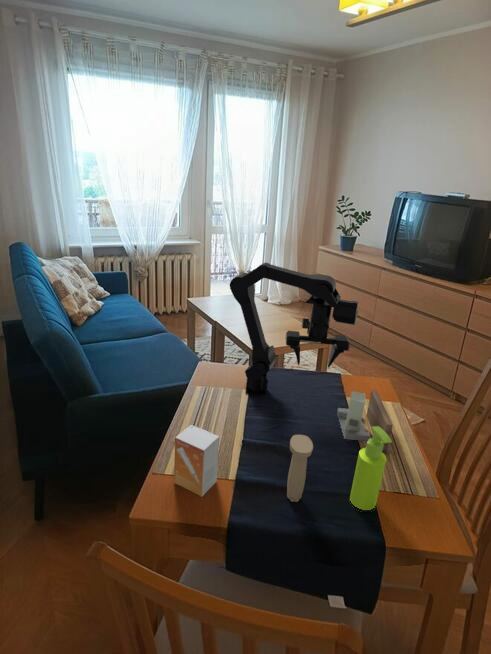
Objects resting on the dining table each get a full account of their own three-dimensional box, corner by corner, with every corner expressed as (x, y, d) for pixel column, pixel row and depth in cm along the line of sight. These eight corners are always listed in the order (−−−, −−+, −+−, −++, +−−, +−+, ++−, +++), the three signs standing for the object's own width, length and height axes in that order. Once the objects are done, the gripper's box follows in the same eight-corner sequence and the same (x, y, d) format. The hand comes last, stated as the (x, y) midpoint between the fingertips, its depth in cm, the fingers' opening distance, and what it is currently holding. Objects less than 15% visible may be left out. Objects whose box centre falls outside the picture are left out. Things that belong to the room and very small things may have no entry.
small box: (173, 483, 102) (174, 437, 98) (189, 468, 108) (191, 423, 103) (201, 498, 99) (204, 450, 94) (217, 481, 104) (220, 435, 99)
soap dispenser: (359, 517, 97) (376, 442, 90) (344, 495, 103) (359, 422, 96) (383, 513, 99) (401, 438, 91) (367, 491, 105) (382, 420, 97)
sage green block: (344, 430, 127) (350, 400, 123) (346, 420, 132) (351, 391, 129) (358, 433, 126) (364, 403, 122) (359, 423, 131) (365, 394, 128)
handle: (302, 488, 104) (311, 435, 99) (305, 509, 98) (314, 453, 93) (282, 487, 104) (289, 433, 99) (284, 507, 98) (291, 452, 93)
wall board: (380, 452, 119) (386, 424, 116) (366, 415, 136) (371, 390, 133) (392, 453, 119) (398, 425, 116) (376, 416, 136) (382, 391, 133)
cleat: (344, 439, 123) (345, 433, 123) (337, 413, 136) (338, 407, 135) (369, 442, 123) (370, 436, 123) (359, 415, 136) (360, 409, 135)
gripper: (347, 312, 138) (339, 357, 143) (287, 307, 138) (282, 352, 144) (353, 325, 127) (345, 373, 133) (289, 319, 128) (283, 367, 133)
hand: (313, 365), depth 136 cm, fingers open, 9 cm apart
